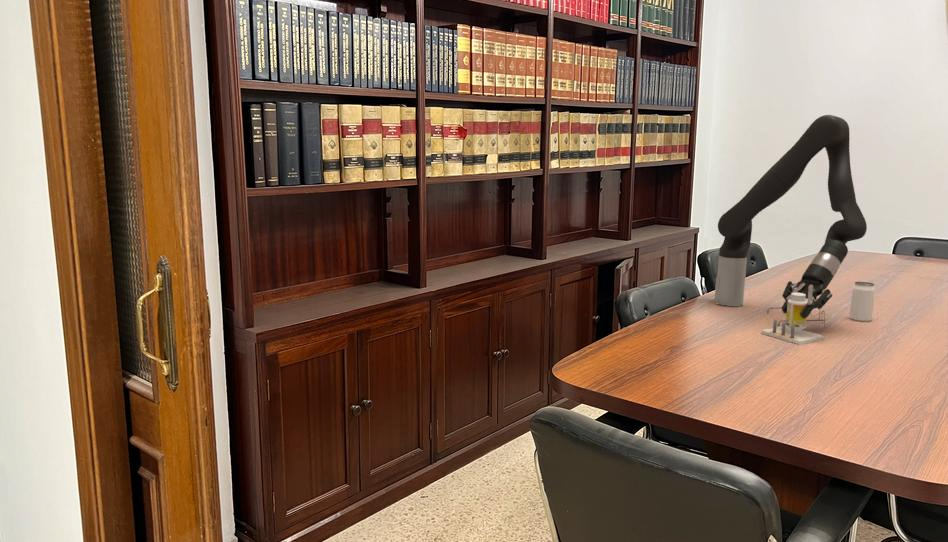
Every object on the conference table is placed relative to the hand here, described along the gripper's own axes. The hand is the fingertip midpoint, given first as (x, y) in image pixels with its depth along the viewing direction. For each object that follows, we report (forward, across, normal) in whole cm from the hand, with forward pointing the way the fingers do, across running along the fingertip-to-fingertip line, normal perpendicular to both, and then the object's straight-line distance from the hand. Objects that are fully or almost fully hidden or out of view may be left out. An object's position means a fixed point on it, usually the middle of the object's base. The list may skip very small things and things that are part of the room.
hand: (793, 314), depth 205 cm
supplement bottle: (+2, 0, +4) cm, 5 cm away
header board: (+4, 0, +6) cm, 7 cm away
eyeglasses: (-7, -10, +18) cm, 22 cm away
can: (-21, -1, +31) cm, 38 cm away
